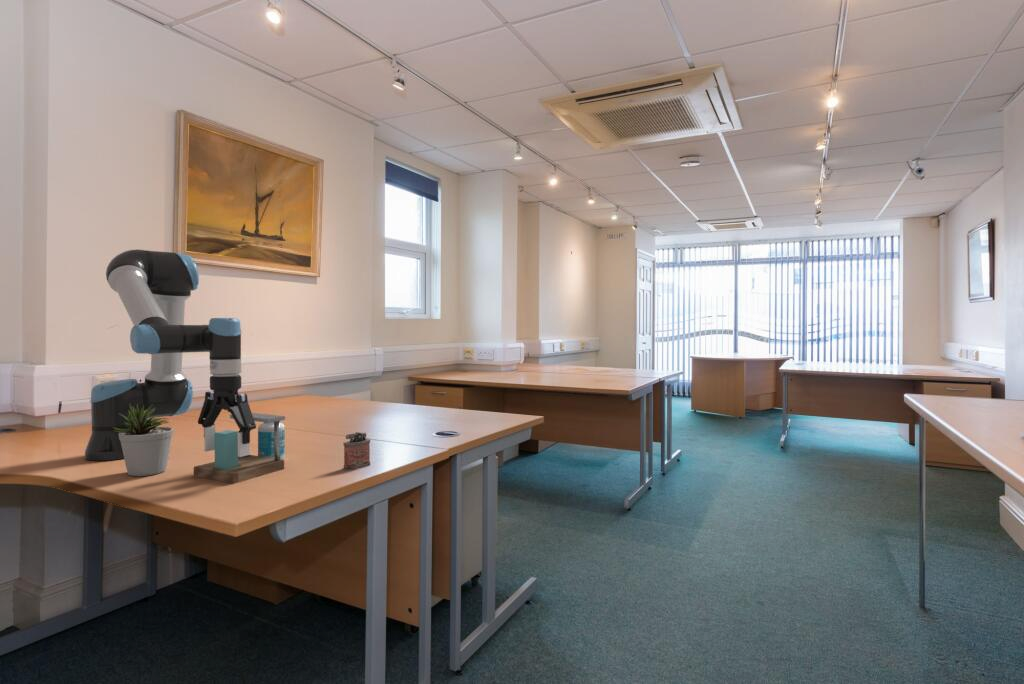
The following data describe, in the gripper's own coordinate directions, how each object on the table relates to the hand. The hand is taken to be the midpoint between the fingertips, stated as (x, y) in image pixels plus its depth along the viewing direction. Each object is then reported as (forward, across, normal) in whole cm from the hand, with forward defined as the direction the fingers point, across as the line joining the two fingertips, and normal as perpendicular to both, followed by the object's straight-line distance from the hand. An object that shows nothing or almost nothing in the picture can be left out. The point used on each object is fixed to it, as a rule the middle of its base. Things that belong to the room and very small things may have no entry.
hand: (226, 453), depth 145 cm
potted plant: (+6, -23, -8) cm, 25 cm away
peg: (+6, 0, 0) cm, 6 cm away
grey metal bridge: (+6, 0, +10) cm, 12 cm away
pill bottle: (+6, -3, +17) cm, 18 cm away
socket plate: (+6, 0, +4) cm, 7 cm away
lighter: (+6, +25, +23) cm, 35 cm away
